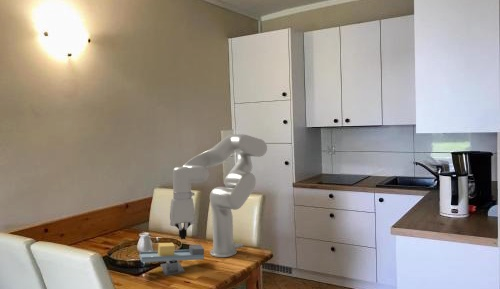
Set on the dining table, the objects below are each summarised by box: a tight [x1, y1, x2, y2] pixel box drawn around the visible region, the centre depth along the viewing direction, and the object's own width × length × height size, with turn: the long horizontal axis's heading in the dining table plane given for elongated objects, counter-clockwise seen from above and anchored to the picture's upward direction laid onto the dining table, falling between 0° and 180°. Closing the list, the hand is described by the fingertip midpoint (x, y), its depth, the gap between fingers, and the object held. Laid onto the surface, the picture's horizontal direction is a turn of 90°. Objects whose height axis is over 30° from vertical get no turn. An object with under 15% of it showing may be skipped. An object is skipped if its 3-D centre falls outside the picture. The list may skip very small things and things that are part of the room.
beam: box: [138, 244, 205, 263], centre depth 165 cm, size 26×9×5 cm, turn 111°
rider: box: [157, 242, 176, 256], centre depth 164 cm, size 6×5×4 cm
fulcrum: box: [160, 260, 185, 276], centre depth 165 cm, size 8×12×4 cm, turn 21°
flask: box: [142, 235, 154, 251], centre depth 179 cm, size 7×7×10 cm
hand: (182, 238), depth 166 cm, fingers closed
